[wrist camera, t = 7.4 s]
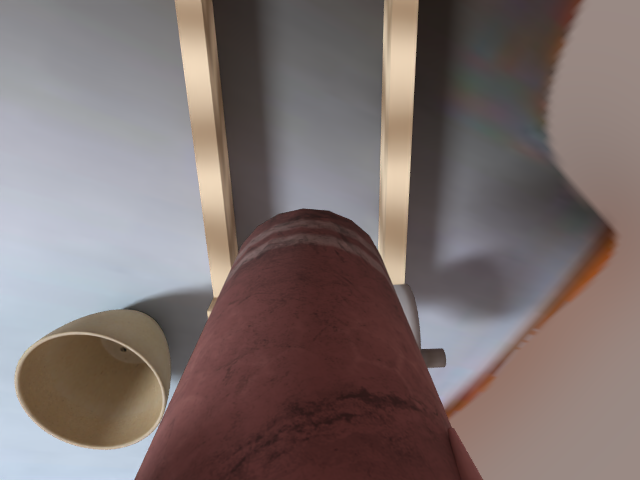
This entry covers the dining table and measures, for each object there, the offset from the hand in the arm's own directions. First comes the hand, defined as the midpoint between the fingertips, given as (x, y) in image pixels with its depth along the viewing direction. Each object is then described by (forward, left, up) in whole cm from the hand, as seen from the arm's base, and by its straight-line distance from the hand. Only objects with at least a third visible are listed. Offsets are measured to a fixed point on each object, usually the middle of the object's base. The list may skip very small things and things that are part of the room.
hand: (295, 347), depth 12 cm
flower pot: (+12, -15, -20) cm, 28 cm away
